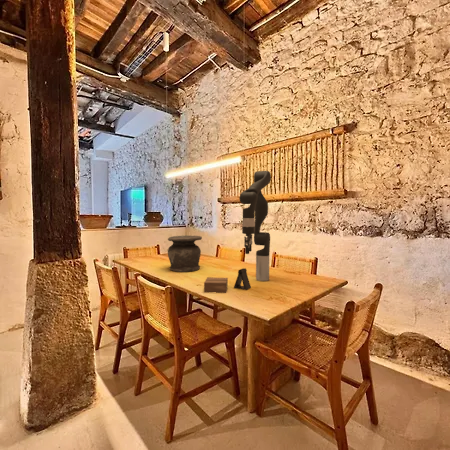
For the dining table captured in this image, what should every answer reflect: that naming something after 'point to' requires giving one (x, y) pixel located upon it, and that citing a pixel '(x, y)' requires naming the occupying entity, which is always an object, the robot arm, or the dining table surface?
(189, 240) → the clay pot
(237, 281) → the phone stand
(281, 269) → the dining table surface
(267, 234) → the robot arm
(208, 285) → the walnut block
